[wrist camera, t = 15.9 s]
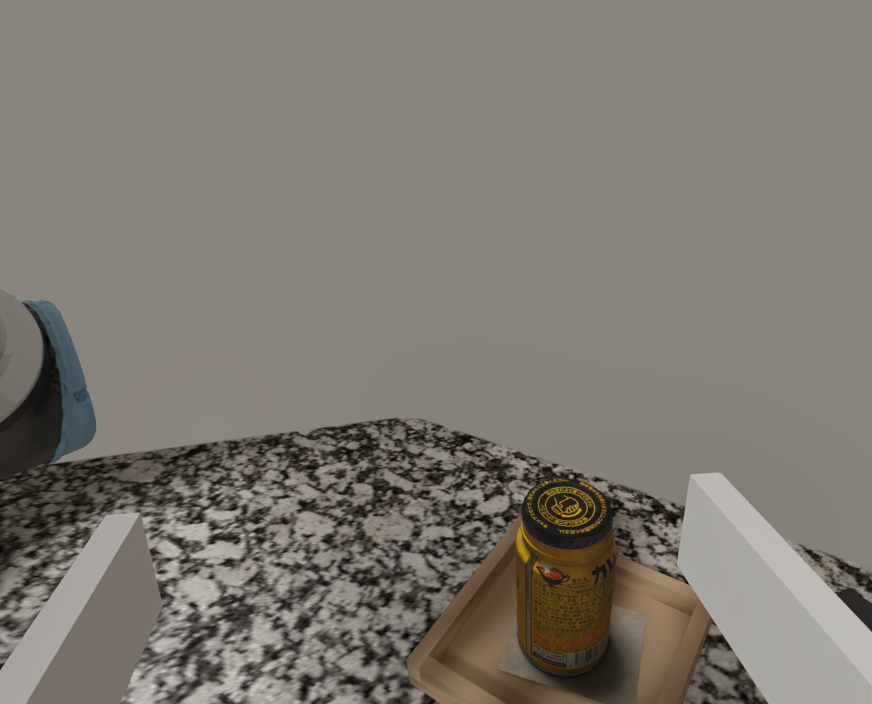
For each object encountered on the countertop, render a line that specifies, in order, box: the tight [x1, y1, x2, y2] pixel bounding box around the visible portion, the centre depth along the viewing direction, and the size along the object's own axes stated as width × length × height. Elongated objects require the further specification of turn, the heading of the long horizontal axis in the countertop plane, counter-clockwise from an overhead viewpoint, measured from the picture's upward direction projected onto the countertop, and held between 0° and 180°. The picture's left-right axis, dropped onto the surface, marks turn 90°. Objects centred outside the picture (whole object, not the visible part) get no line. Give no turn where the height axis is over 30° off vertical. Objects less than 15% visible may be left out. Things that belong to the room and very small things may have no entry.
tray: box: [406, 514, 713, 704], centre depth 41 cm, size 15×15×2 cm
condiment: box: [498, 478, 647, 704], centre depth 38 cm, size 7×8×12 cm
